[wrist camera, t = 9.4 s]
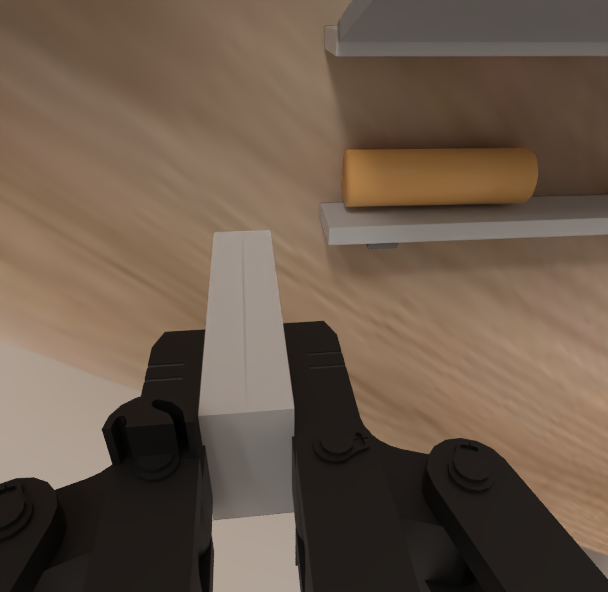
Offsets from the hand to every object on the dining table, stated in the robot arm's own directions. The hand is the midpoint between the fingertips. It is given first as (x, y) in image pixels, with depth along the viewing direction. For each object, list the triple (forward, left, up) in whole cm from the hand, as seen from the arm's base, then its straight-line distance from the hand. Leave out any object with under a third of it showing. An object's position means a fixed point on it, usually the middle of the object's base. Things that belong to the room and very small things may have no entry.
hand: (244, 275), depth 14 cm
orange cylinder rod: (+10, 0, -14) cm, 18 cm away
